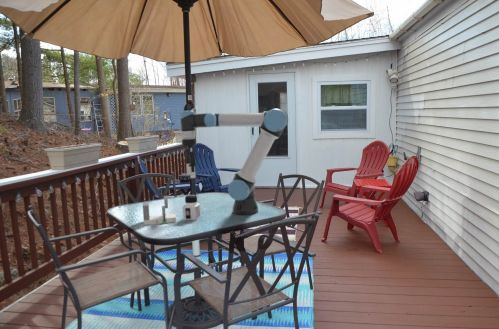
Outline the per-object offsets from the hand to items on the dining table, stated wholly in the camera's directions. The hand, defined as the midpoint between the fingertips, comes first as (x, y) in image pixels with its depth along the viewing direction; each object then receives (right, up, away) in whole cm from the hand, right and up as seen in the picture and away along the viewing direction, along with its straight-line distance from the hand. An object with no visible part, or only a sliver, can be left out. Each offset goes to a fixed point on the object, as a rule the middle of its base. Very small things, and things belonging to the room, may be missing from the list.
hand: (191, 176), depth 213 cm
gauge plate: (-13, -24, -4) cm, 27 cm away
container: (0, -24, 0) cm, 24 cm away
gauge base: (-17, -25, -4) cm, 30 cm away
